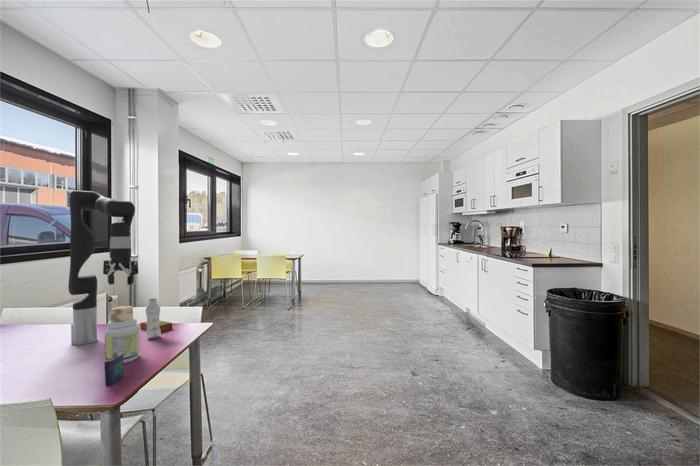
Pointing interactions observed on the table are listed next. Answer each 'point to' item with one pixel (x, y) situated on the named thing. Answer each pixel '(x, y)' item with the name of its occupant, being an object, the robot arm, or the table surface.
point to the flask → (114, 369)
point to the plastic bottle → (153, 319)
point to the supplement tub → (123, 339)
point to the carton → (163, 326)
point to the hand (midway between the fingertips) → (120, 284)
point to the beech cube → (121, 313)
